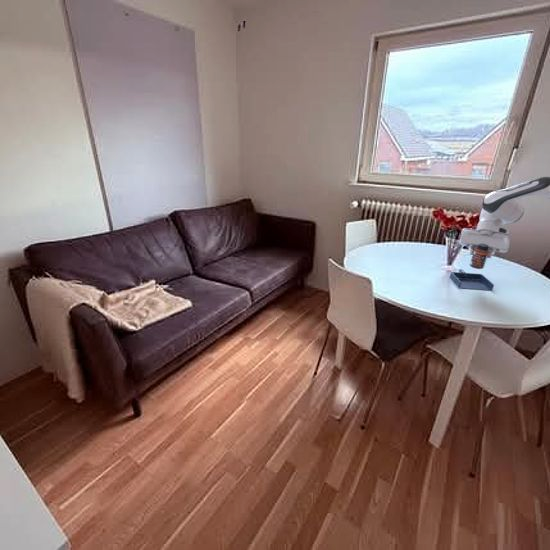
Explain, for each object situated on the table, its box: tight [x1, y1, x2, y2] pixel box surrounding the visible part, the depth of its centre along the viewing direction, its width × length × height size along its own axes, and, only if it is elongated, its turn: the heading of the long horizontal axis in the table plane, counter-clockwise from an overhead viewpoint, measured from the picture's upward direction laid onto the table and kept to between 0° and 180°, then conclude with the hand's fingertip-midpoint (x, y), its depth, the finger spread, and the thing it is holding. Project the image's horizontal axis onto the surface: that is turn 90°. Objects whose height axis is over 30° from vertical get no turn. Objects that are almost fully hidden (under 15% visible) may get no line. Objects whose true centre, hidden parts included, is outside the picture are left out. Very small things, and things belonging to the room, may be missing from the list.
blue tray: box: [449, 268, 495, 292], centre depth 158 cm, size 20×15×3 cm
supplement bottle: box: [469, 244, 490, 270], centre depth 148 cm, size 6×6×11 cm
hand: (480, 255), depth 147 cm, fingers closed on supplement bottle, 6 cm apart
